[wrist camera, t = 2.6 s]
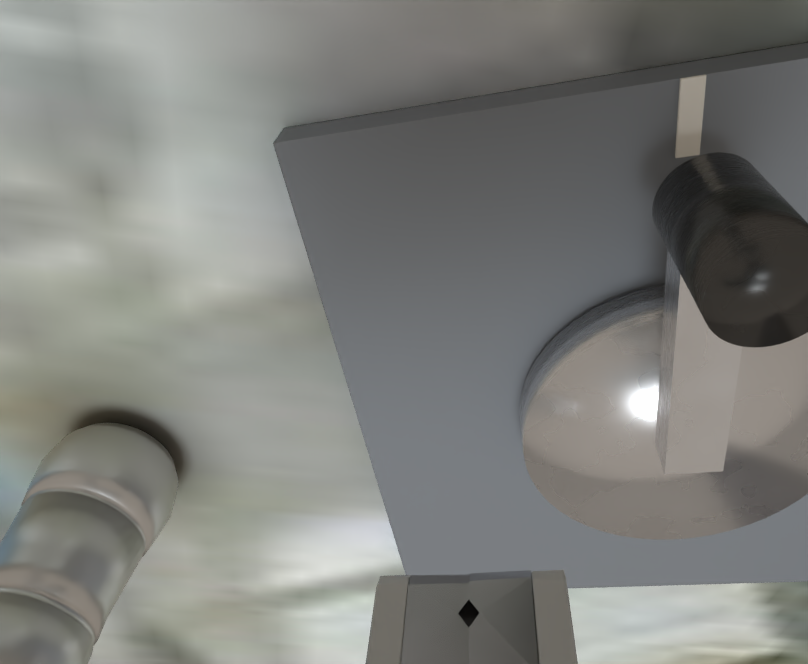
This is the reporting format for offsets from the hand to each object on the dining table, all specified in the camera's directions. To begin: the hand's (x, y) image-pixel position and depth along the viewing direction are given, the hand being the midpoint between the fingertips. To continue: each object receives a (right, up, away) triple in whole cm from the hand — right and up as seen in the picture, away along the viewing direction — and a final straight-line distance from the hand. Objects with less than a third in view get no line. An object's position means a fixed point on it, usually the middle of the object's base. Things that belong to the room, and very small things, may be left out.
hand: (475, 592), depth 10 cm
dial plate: (+10, +2, +17) cm, 19 cm away
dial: (+9, +3, +14) cm, 17 cm away
